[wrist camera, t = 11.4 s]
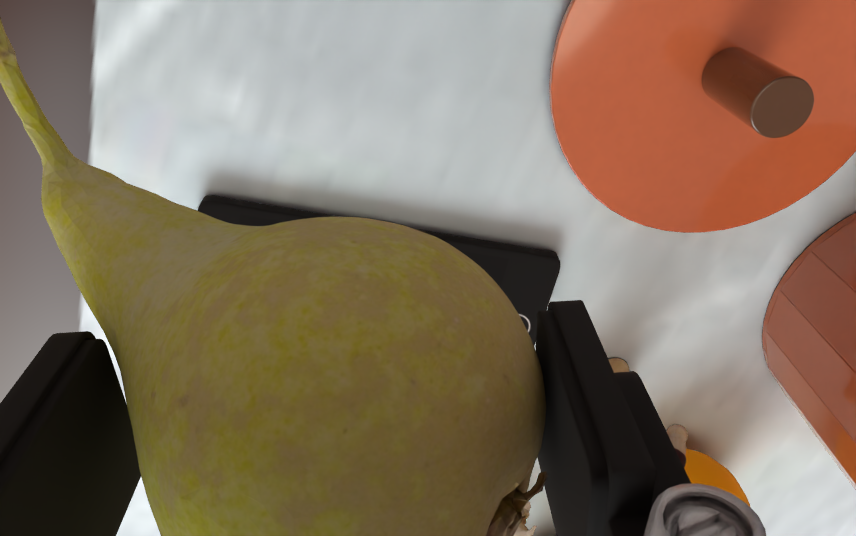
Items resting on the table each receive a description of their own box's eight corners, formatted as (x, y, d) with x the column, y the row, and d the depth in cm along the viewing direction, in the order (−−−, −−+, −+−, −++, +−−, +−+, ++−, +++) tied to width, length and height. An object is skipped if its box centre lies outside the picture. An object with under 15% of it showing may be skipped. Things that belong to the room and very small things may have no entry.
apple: (708, 409, 42) (765, 509, 35) (735, 493, 45) (791, 597, 39) (581, 453, 43) (613, 557, 37) (617, 531, 47) (652, 637, 40)
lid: (721, -223, 26) (803, -247, 21) (968, 17, 31) (1086, 47, 26) (478, 117, 32) (494, 165, 27) (715, 273, 37) (769, 341, 32)
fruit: (544, 489, 15) (174, 203, 19) (711, 271, 10) (145, -78, 13) (345, 784, 11) (-82, 352, 15) (438, 694, 6) (-281, 34, 9)
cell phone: (515, 384, 40) (518, 394, 39) (194, 340, 38) (190, 350, 37) (560, 250, 36) (564, 259, 35) (201, 191, 33) (196, 199, 33)
